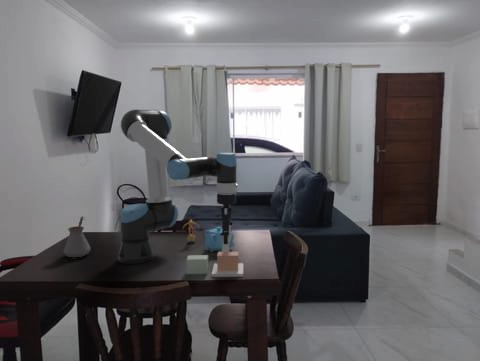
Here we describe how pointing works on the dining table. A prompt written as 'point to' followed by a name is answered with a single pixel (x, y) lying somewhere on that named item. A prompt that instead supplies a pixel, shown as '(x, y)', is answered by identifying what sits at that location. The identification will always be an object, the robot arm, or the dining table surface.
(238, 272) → the base plate
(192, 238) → the figurine
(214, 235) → the teapot
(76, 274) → the dining table surface
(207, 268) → the sage brick
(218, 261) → the terracotta brick
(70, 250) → the coffee pot
